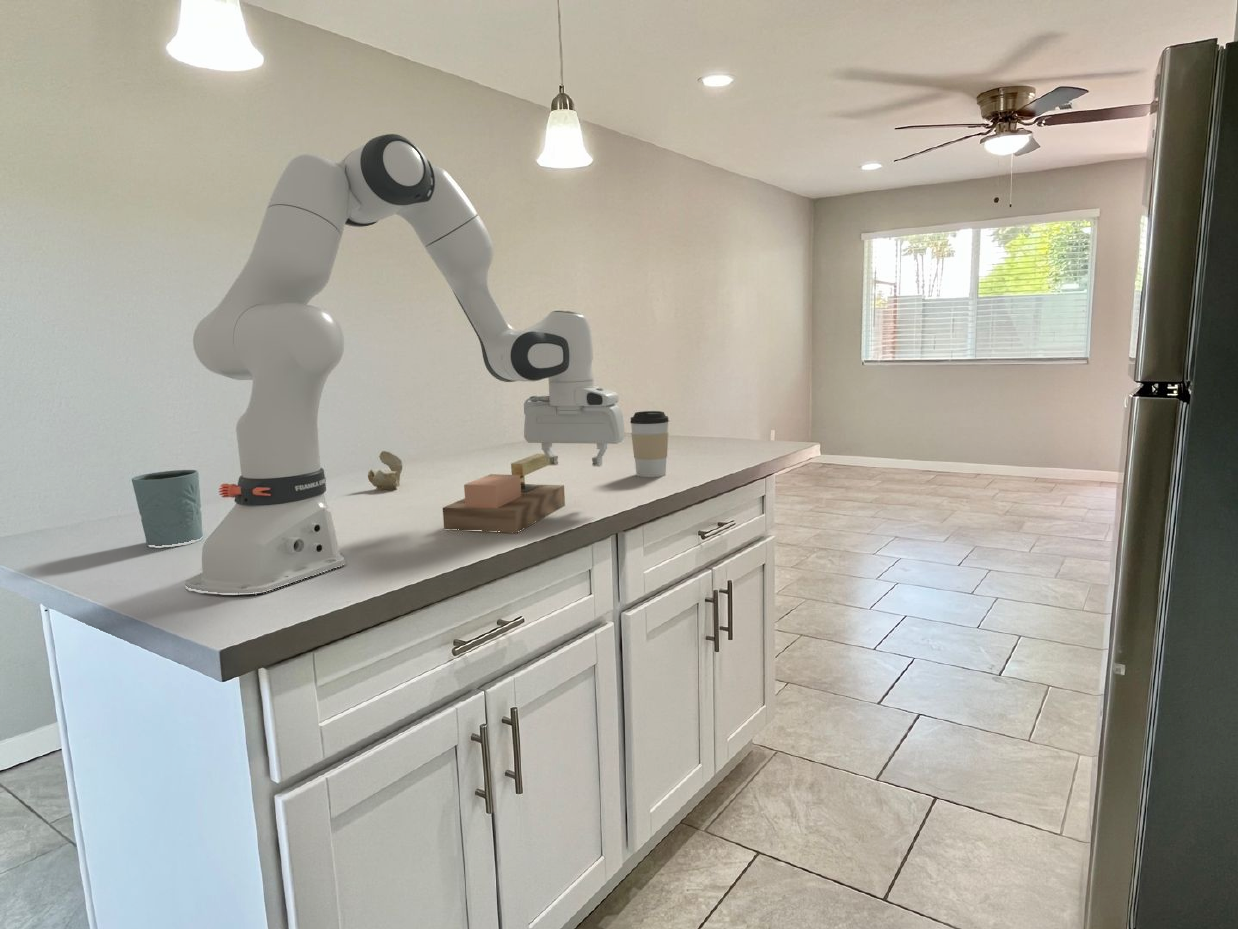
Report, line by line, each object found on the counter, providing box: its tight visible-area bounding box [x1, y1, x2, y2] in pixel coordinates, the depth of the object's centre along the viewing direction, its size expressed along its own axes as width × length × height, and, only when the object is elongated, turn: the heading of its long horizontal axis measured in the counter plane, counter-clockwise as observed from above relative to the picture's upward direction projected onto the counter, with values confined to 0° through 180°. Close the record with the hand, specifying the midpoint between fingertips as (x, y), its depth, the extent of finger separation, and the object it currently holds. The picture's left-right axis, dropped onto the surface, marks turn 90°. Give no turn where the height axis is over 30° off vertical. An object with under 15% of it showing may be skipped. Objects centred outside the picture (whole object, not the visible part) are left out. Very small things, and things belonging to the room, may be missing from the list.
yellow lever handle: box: [510, 453, 549, 488], centre depth 155 cm, size 12×2×5 cm, turn 162°
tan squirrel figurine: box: [367, 450, 403, 491], centre depth 178 cm, size 9×6×10 cm
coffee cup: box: [629, 410, 670, 478], centre depth 182 cm, size 9×9×15 cm
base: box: [442, 483, 566, 534], centre depth 146 cm, size 22×14×4 cm, turn 162°
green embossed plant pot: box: [131, 469, 204, 546], centre depth 136 cm, size 10×10×12 cm
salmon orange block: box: [463, 473, 521, 508], centre depth 140 cm, size 10×6×4 cm, turn 162°
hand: (575, 465), depth 155 cm, fingers open, 8 cm apart
